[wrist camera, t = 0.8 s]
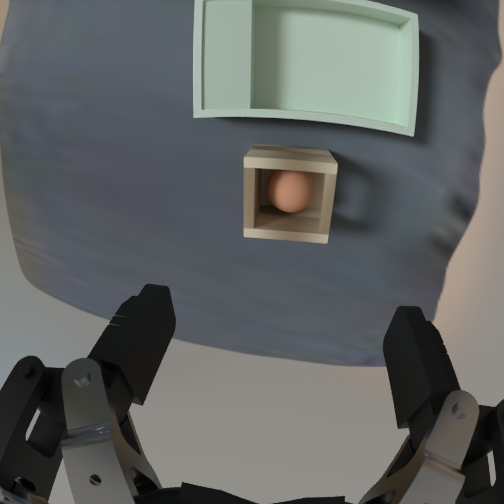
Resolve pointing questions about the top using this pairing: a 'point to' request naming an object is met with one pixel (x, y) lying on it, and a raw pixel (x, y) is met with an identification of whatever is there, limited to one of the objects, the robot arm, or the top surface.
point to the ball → (290, 190)
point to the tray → (307, 62)
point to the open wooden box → (273, 219)
